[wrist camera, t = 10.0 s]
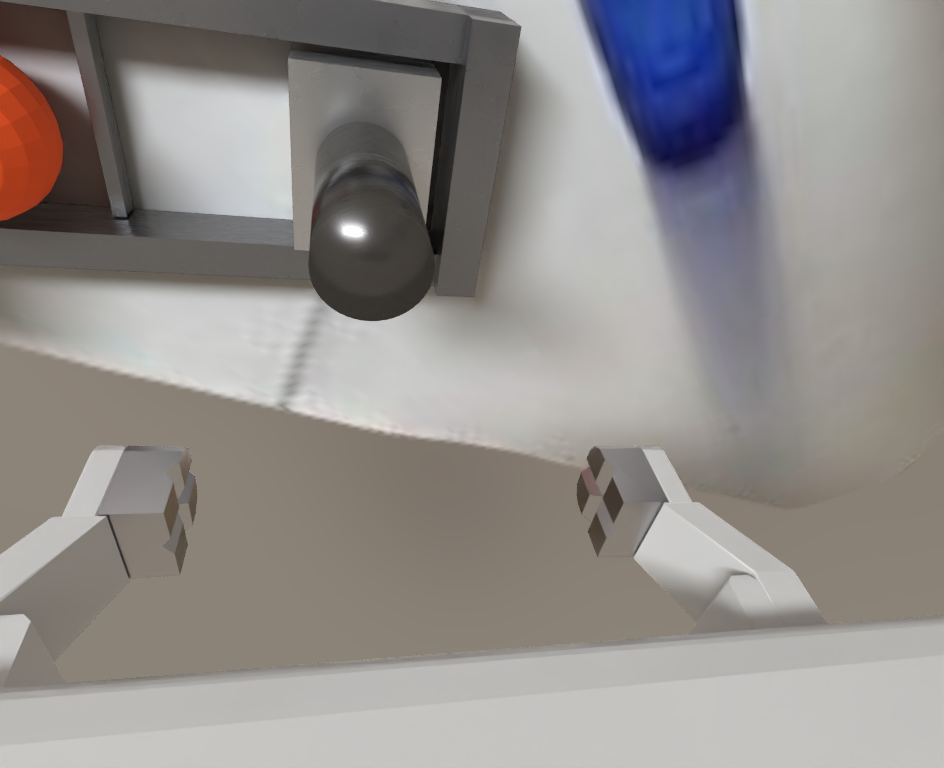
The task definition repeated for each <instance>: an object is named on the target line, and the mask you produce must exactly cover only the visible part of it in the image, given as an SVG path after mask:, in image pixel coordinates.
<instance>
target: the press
mask: <svg viewBox="0 0 944 768" xmlns="http://www.w3.org/2000/svg"><path fill="white" fill-rule="evenodd" d="M0 1H2V2H9V3H17V4H24V5H31V6H39V7H46V8H53V9H60V10H66V13H67V17H68V22H69V26H70V30H71V35H72V39H73V44H74V48H75V52H76V57H77V61H78V65H79V70H80V74H81V79H82V83H83V87H84V92H85V96H86V100H87V105H88V109H89V114H90V118H91V122H92V127H93V131H94V135H95V140H96V144H97V149H98V153H99V157H100V162H101V166H102V170H103V175H104V179H105V184H106V188H107V192H108V197H109V201H110V206H111V207H98V206H84V205H70V204H55V203H41V202H40V203H39V204H38V205H36V206H34V207H33V208H31V209H29V210H27V211H25V212H23V213H21V214H19V215H17V216H15V217H12V218H10V219H8V220H2V221H0V265H12V266H33V267H54V268H75V269H96V270H117V271H138V272H158V273H179V274H200V275H221V276H242V277H263V278H284V279H305V280H311V279H310V275H309V267H308V261H309V251H306V250H294V227H293V220H285V219H270V218H256V217H242V216H227V215H213V214H199V213H184V212H170V211H156V210H141V209H133V202H132V197H131V192H130V188H129V183H128V178H127V173H126V168H125V163H124V158H123V153H122V148H121V143H120V139H119V134H118V129H117V124H116V119H115V114H114V109H113V104H112V99H111V95H110V90H109V85H108V80H107V75H106V70H105V65H104V60H103V55H102V50H101V46H100V41H99V36H98V31H97V26H96V21H95V16H94V14H97V15H104V16H112V17H119V18H126V19H133V20H141V21H148V22H155V23H163V24H170V25H177V26H185V27H192V28H199V29H207V30H214V31H221V32H228V33H236V34H243V35H250V36H258V37H265V38H272V39H280V40H287V41H294V42H302V43H309V44H316V45H323V46H331V47H338V48H345V49H353V50H360V51H367V52H375V53H382V54H389V55H397V56H404V57H411V58H418V59H426V60H433V61H440V62H448V63H450V67H449V75H448V84H447V93H446V101H445V110H444V119H443V127H442V136H441V144H440V153H439V162H438V170H437V179H436V188H435V196H434V205H433V213H432V222H431V230H428V229H427V232H428V235H429V239H430V243H431V246H432V250H433V254H434V260H435V272H434V277H433V280H432V283H431V286H434V288H435V292H436V295H441V296H464V297H474V293H475V287H476V281H477V276H478V270H479V264H480V259H481V253H482V247H483V242H484V236H485V230H486V225H487V219H488V213H489V208H490V202H491V196H492V191H493V185H494V179H495V173H496V168H497V162H498V156H499V151H500V145H501V139H502V134H503V128H504V122H505V117H506V111H507V105H508V100H509V94H510V88H511V83H512V77H513V71H514V66H515V60H516V54H517V49H518V43H519V37H520V32H521V26H520V25H518V24H517V23H516V22H514V21H513V20H511V19H510V18H508V17H507V16H506V15H504V14H503V13H501V12H499V11H492V10H486V9H480V8H474V7H467V6H461V5H455V4H449V3H442V2H436V1H430V0H0Z"/></svg>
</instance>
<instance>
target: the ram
mask: <svg viewBox="0 0 944 768" xmlns="http://www.w3.org/2000/svg"><path fill="white" fill-rule="evenodd" d="M288 80H289V109H290V139H291V168H292V197H293V227H294V250H306V251H309V261H308V267H309V275H310V279H311V281H312V284H313V286H314V288H315V290H316V292H317V293H318V295H319V296H320V297H321V298H322V300H323V301H324V302H325V303H326V304H327V305H329V306H330V307H331V308H333V309H334V310H336V311H337V312H339V313H341V314H343V315H345V316H348V317H351V318H354V319H358V320H365V321H380V320H387V319H391V318H394V317H397V316H399V315H402V314H404V313H406V312H407V311H409V310H410V309H412V308H413V307H414V306H416V305H417V304H418V303H419V302H420V301H421V300H422V299H423V297H424V296H425V295H426V293H427V292H428V290H429V288H430V286H431V283H432V280H433V277H434V272H435V260H434V254H433V250H432V246H431V243H430V239H429V235H428V232H427V228H426V218H427V208H428V199H429V190H430V181H431V172H432V163H433V154H434V145H435V136H436V127H437V117H438V108H439V99H440V90H441V81H442V78H441V76H440V75H439V73H438V71H437V69H436V68H435V66H434V64H433V63H432V61H431V60H426V59H418V58H411V57H404V56H397V55H389V54H382V53H375V52H367V51H360V50H353V49H345V48H338V47H331V46H323V45H316V44H309V43H302V42H294V41H293V43H292V46H291V49H290V53H289V56H288Z"/></svg>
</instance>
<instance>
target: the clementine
mask: <svg viewBox="0 0 944 768" xmlns="http://www.w3.org/2000/svg"><path fill="white" fill-rule="evenodd" d="M62 162H63V142H62V138H61V134H60V130H59V125H58V122H57V119H56V117H55V115H54V113H53V111H52V109H51V107H50V105H49V103H48V101H47V99H46V98H45V96H44V95H43V94H42V93H41V91H40V90H39V89H38V88H37V86H36V85H35V84H34V83H33V81H32V80H31V79H30V78H29V77H28V76H27V75H25V74H24V73H23V72H22V71H21V70H20V69H19V68H17V67H16V66H15V65H14V64H13V63H12V62H10V61H9V60H7V59H6V58H4V57H2V56H1V55H0V221H2V220H8V219H10V218H12V217H15V216H17V215H19V214H21V213H23V212H25V211H27V210H29V209H31V208H33V207H34V206H36V205H38V204H39V203H40V202H41V201H42V200H43V199H44V198H45V197H46V196H47V195H48V194H49V193H50V192H51V189H52V187H53V185H54V183H55V181H56V179H57V177H58V174H59V172H60V170H61V167H62Z"/></svg>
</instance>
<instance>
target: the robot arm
mask: <svg viewBox="0 0 944 768" xmlns="http://www.w3.org/2000/svg"><path fill="white" fill-rule="evenodd" d="M587 461H588V463H589V467H588V468H586V469H585V470H584V471H583V472H581V474H580V477H579V480H578V483H577V500H578V505H579V508H580V511H581V514H582V515H583V516H584V517H585V518H587V519H588V520H589V521H590V522H591V525H590V528H589V530H588V533H589V536H590V538H591V541H592V544H593V546H594V549H595V552H596V554H597V557H633V556H634V559H635V560H636V562H637V563H638V564H639V565H640V566H641V567H642V568H643V569H644V570H645V571H646V572H647V573H648V574H649V575H650V576H651V577H652V578H653V579H654V580H655V581H656V582H657V583H658V584H659V585H660V586H661V587H662V588H663V589H664V590H665V591H666V592H667V593H668V594H669V595H670V596H671V597H672V598H673V599H674V600H675V601H676V603H677V604H678V605H679V606H680V607H681V608H682V609H683V610H684V611H685V612H686V613H687V614H688V615H689V616H690V617H691V618H692V619H693V620H694V621H695V622H696V624H695V625H694V626H693V628H692V629H691V630H690V632H689V633H688V634H687V635H676V636H664V637H650V638H638V639H625V640H612V641H600V642H586V643H573V644H561V645H548V646H536V647H522V648H509V649H496V650H484V651H471V652H458V653H447V654H432V655H420V656H408V657H395V658H381V659H369V660H355V661H343V662H331V663H317V664H304V665H292V666H279V667H265V668H254V669H253V668H252V669H240V670H227V671H214V672H201V673H188V674H176V675H163V676H150V677H136V678H123V679H111V680H97V681H86V682H71V683H66V682H65V680H64V678H63V676H62V674H61V673H60V671H59V669H58V667H57V666H56V664H55V661H56V660H57V659H58V658H59V656H60V655H61V654H62V653H63V652H64V651H65V650H66V649H67V648H68V647H69V646H70V645H71V644H72V643H73V641H75V640H76V638H77V637H78V636H79V635H80V634H81V633H82V632H83V631H84V630H85V629H86V628H87V627H88V626H89V625H90V624H91V622H92V621H93V620H94V619H95V618H96V617H97V616H98V615H99V614H100V613H101V612H102V611H103V610H104V609H105V607H106V606H107V605H108V604H109V603H110V602H111V601H112V600H113V599H114V598H115V597H116V596H117V595H118V594H119V593H120V591H121V590H122V589H123V588H124V587H125V586H126V585H127V584H128V583H129V582H130V581H129V579H136V578H150V577H163V576H164V577H165V576H179V575H180V574H181V570H182V566H183V562H184V558H185V554H186V550H187V546H188V543H187V539H186V534H185V531H187V530H188V529H189V528H190V527H191V526H192V525H193V522H194V517H195V513H196V504H197V485H196V479H195V476H193V475H192V474H191V473H190V472H189V469H190V466H191V462H192V459H191V455H190V451H189V448H187V447H168V446H167V447H166V446H163V447H162V446H97V447H96V448H95V449H94V450H93V451H92V452H91V454H90V457H89V459H88V461H87V463H86V465H85V467H84V470H83V472H82V474H81V476H80V478H79V480H78V482H77V485H76V487H75V489H74V491H73V493H72V495H71V498H70V500H69V502H68V504H67V506H66V508H65V510H64V513H63V515H62V517H52V518H50V519H49V520H48V521H46V522H45V523H43V524H42V525H41V526H39V527H38V528H36V529H35V530H34V531H32V532H31V533H30V534H28V535H27V536H25V537H24V538H23V539H21V540H20V541H19V542H17V543H16V544H14V545H13V546H12V547H10V548H9V549H7V550H6V551H5V552H3V553H2V554H1V555H0V768H944V615H933V616H920V617H908V618H896V619H882V620H869V621H857V622H844V623H832V624H828V623H827V622H826V620H825V619H824V617H823V616H822V614H821V613H820V611H819V609H818V608H817V606H816V605H815V603H814V602H813V600H812V599H811V597H810V595H809V594H808V592H807V591H806V589H805V588H804V586H803V585H802V583H801V581H800V580H799V578H798V577H797V575H796V574H795V572H794V571H793V570H792V569H790V568H789V567H787V566H786V565H785V564H783V563H782V562H781V561H779V560H778V559H776V558H775V557H774V556H772V555H771V554H770V553H768V552H767V551H765V550H764V549H763V548H761V547H760V546H759V545H757V544H756V543H754V542H753V541H752V540H750V539H749V538H747V537H746V536H745V535H743V534H742V533H741V532H739V531H738V530H736V529H735V528H734V527H732V526H731V525H729V524H728V523H727V522H725V521H724V520H723V519H721V518H720V517H719V516H717V515H716V514H714V513H713V512H712V511H710V510H709V509H707V508H706V507H705V506H703V505H702V504H701V503H699V502H692V500H691V499H690V497H689V495H688V493H687V491H686V489H685V488H684V486H683V484H682V482H681V481H680V479H679V477H678V475H677V473H676V472H675V470H674V468H673V466H672V465H671V463H670V461H669V459H668V457H667V456H666V454H665V452H664V450H663V449H662V448H661V447H659V446H594V447H593V448H592V449H591V450H590V452H589V454H588V456H587Z"/></svg>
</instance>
